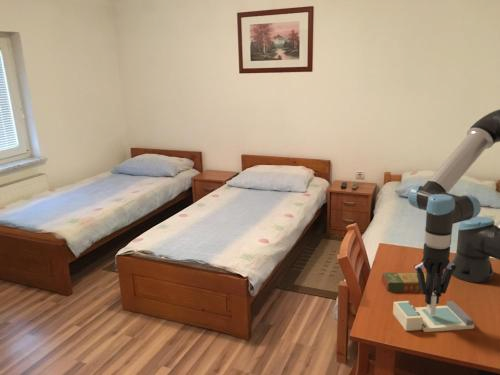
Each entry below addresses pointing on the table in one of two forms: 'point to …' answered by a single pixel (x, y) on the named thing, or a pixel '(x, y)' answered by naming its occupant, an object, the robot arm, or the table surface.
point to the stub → (407, 315)
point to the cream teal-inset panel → (445, 318)
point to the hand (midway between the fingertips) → (430, 312)
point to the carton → (401, 281)
